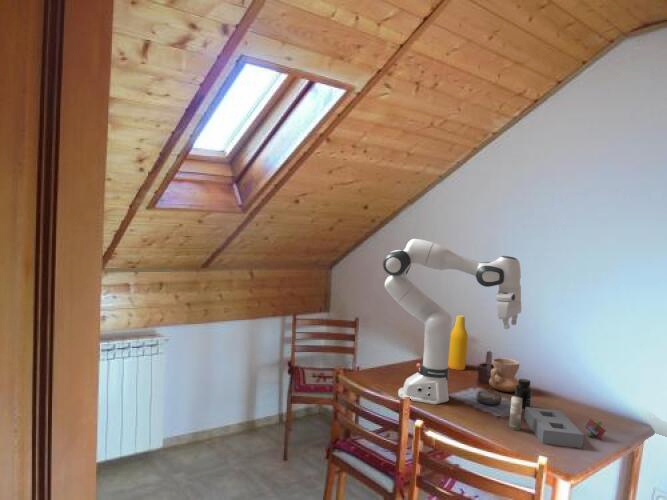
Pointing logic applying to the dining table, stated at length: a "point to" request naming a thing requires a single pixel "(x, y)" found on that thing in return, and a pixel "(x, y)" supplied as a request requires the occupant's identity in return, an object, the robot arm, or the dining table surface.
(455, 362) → the beer bottle
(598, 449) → the dining table surface
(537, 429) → the socket block
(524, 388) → the supplement bottle
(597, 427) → the geometric puzzle
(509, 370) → the ceramic jug
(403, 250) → the robot arm
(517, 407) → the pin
